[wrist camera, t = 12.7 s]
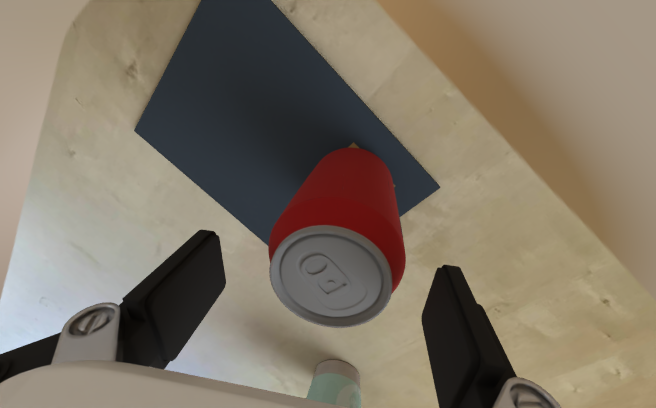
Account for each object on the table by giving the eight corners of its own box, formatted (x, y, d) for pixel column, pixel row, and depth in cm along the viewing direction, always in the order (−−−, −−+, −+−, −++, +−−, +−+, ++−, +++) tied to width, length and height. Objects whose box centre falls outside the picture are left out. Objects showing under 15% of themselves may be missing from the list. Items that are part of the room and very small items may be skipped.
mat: (137, 129, 23) (132, 130, 23) (229, -46, 17) (225, -50, 16) (311, 279, 28) (310, 282, 27) (439, 185, 21) (440, 188, 21)
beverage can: (344, 232, 24) (319, 354, 13) (297, 176, 22) (223, 263, 12) (409, 193, 21) (443, 306, 10) (360, 126, 20) (342, 180, 9)
